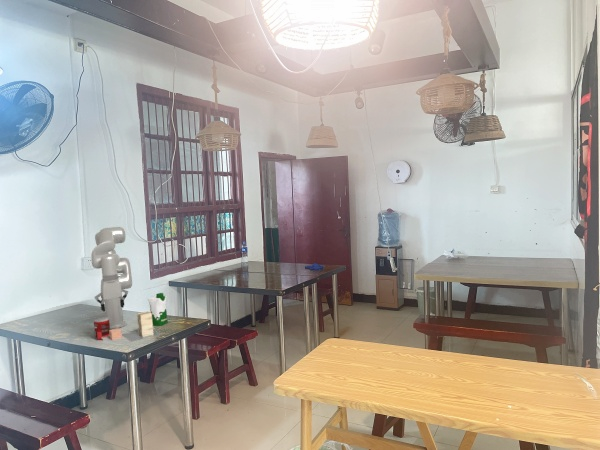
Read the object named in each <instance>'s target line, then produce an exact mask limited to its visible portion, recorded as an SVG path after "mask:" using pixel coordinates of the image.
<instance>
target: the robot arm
mask: <svg viewBox="0 0 600 450" xmlns="http://www.w3.org/2000/svg"><path fill="white" fill-rule="evenodd" d="M94 239H95V240H94V241H95V244H96V246H95V247H94V248H93V250H92V252H91V266H92V267H93V268H94V269H96V270H97V269H101V275H102V277H101V278H102V279H101V280H100V292H99V293H98V294H96V295H95V296H94V300H96V302H97V303H99V304H100V310H101V311H103V312H105V317H108V318H109V323H110V330H112V329H117V328H119V329H121V328H122V327H125V326H126V325H127V322H126V321H124V313H123V308H124V306H125V299H126V298H127V296H128V294H129V291H128V289H131V288H132V286H133V277H132V268H131V262H130V259H128V258H127V257H120V256H119V255H118V254H117V252H116V250H115V248H116V244H124V243H125V241H126V231H125V229H124V228H123V227H121V226H112V227H111V226H110V227H104V228H102V229H101V230H99V232H96V234H95V236H94ZM123 293H124V294H123ZM100 298H101V300H100Z"/></svg>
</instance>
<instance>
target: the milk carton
mask: <svg viewBox="0 0 600 450" xmlns="http://www.w3.org/2000/svg"><path fill="white" fill-rule="evenodd" d="M147 301H148V303H149V310H150V311H149V312H150V313H152V323H153V327H162V326H164V325H167V324H169V322H168V321H169V320H168V313H167V295H164V293H163V292H159V293H156V295H154V296H151V297H148V298H147Z"/></svg>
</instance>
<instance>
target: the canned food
mask: <svg viewBox="0 0 600 450" xmlns="http://www.w3.org/2000/svg"><path fill="white" fill-rule="evenodd" d="M93 327H94V337H95V340H97V341H103V340H104V339H103V338H106V337H110V334H109V330H111V329H110V323H109V318H108V317H106V316H104V317H98V318H97V317H96V318H94V320H93Z"/></svg>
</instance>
